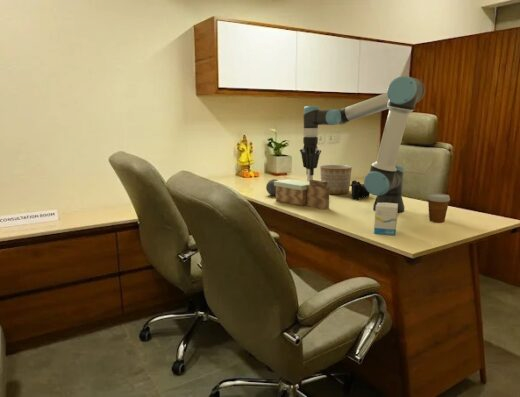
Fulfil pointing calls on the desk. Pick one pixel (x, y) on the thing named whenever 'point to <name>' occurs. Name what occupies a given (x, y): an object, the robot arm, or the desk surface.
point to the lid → (292, 184)
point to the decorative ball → (271, 187)
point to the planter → (336, 178)
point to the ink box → (385, 218)
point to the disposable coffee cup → (438, 207)
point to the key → (318, 183)
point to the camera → (358, 191)
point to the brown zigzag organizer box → (304, 196)
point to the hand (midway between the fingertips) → (309, 181)
